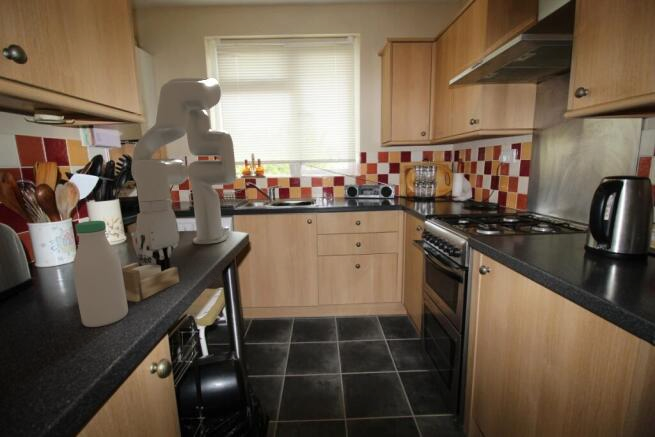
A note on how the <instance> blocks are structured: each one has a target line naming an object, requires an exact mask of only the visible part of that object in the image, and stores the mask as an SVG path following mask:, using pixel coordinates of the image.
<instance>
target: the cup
mask: <svg viewBox="0 0 655 437" xmlns="http://www.w3.org/2000/svg"><path fill="white" fill-rule="evenodd" d="M130 235H131V240H132V244H133V249H134V251H135V254H136V256H137V259H138V261H139V264H140V266H144V265H156V259H153V257H152V256H143V250H139V248H138V244H137V231H133V232H131V234H130Z"/></svg>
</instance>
